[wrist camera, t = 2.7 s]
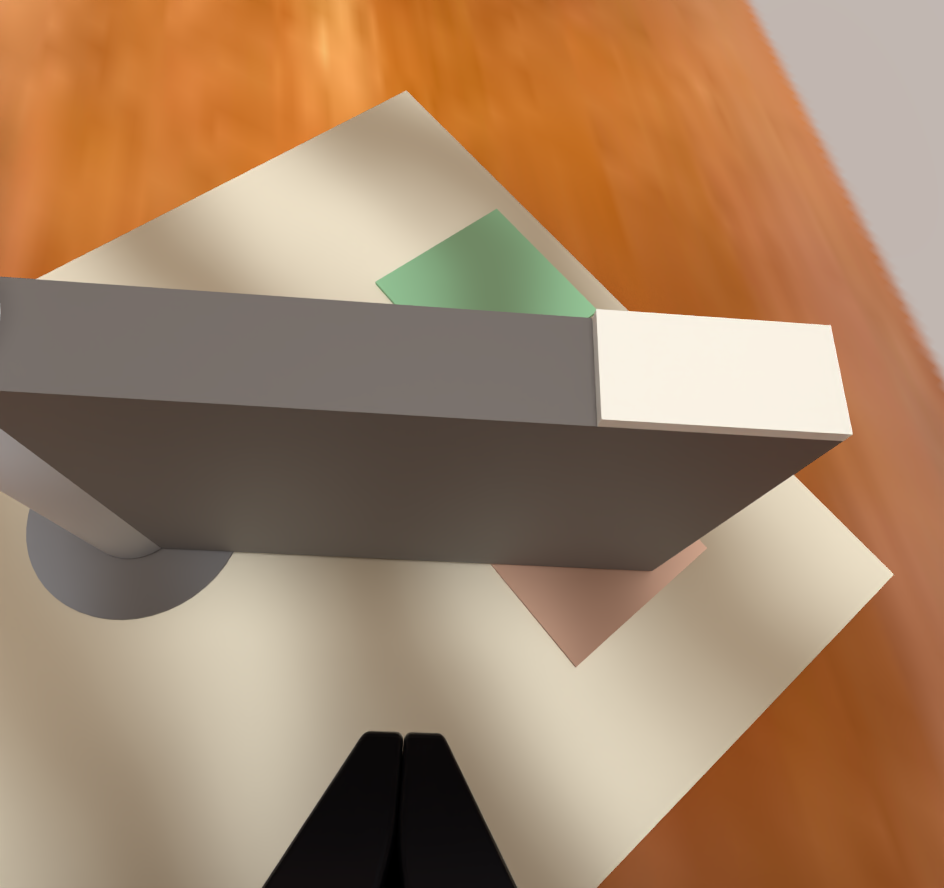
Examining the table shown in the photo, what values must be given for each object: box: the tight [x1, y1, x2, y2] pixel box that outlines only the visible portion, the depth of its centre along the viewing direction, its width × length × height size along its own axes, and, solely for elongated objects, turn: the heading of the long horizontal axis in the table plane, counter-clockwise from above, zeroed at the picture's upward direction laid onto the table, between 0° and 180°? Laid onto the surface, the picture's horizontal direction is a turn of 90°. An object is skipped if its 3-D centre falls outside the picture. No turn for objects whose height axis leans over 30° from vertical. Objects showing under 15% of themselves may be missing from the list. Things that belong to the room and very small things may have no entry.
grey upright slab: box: [0, 277, 853, 571], centre depth 11 cm, size 12×2×8 cm, turn 88°
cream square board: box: [0, 91, 894, 888], centre depth 15 cm, size 18×18×1 cm
